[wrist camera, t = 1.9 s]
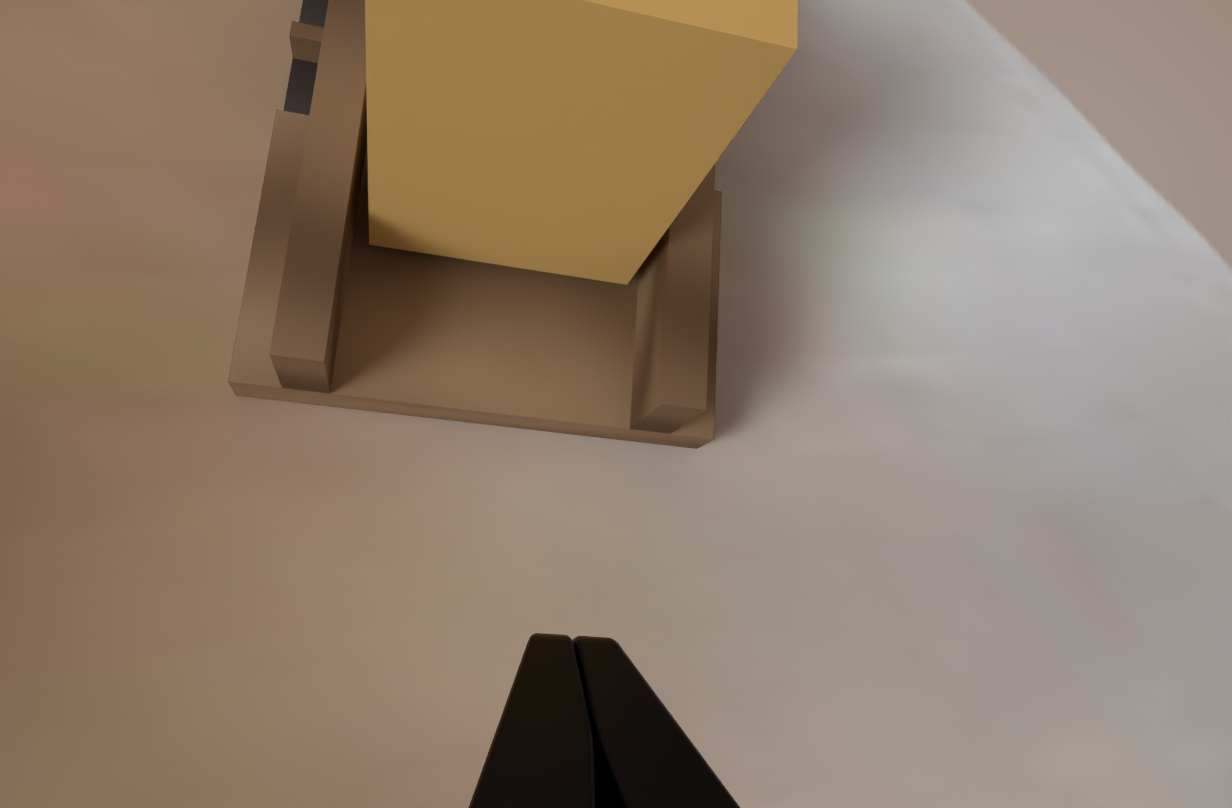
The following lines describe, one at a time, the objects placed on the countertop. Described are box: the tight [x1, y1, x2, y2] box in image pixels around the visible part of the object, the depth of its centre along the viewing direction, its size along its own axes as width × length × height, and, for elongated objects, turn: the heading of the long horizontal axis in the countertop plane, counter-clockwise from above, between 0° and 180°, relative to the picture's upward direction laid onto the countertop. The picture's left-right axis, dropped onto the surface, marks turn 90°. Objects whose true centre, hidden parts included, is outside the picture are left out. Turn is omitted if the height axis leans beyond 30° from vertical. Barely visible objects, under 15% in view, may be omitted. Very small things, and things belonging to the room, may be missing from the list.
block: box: [365, 0, 798, 285], centre depth 17 cm, size 3×6×9 cm, turn 86°
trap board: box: [228, 0, 722, 449], centre depth 22 cm, size 17×11×4 cm, turn 176°
